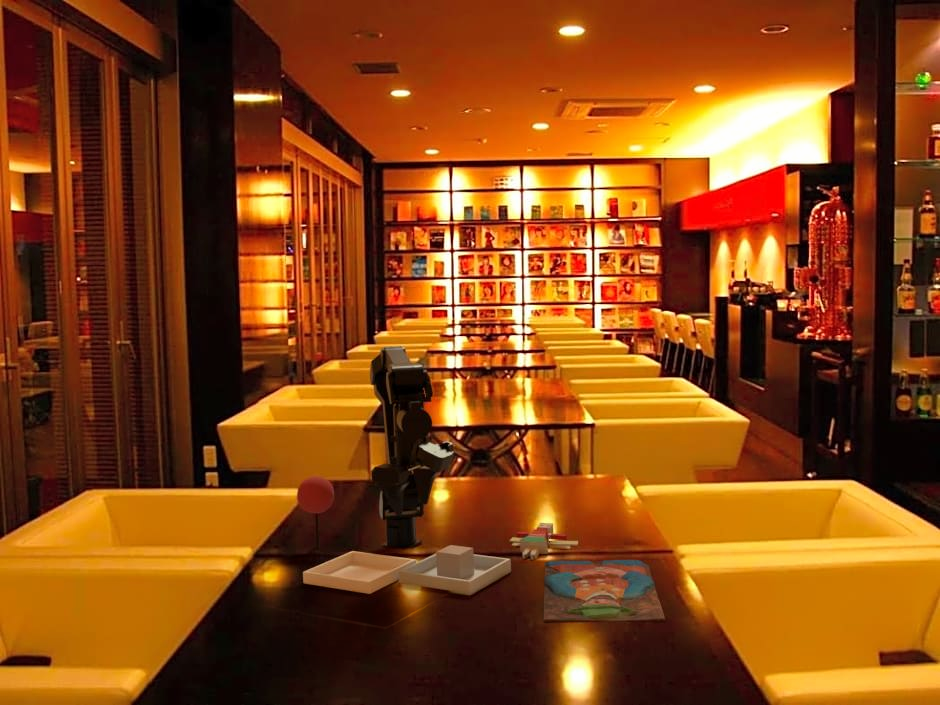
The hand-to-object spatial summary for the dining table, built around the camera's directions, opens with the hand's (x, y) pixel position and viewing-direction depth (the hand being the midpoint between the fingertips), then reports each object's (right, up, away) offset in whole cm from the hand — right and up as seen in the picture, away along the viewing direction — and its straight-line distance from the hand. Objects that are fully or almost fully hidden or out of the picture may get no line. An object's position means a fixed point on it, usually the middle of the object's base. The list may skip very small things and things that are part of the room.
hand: (412, 509), depth 197 cm
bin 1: (-9, -12, -5) cm, 16 cm away
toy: (+25, -10, +11) cm, 29 cm away
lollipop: (-21, -11, +19) cm, 30 cm away
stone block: (+9, -11, -7) cm, 16 cm away
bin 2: (+9, -12, -7) cm, 16 cm away
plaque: (+34, -13, -18) cm, 40 cm away
